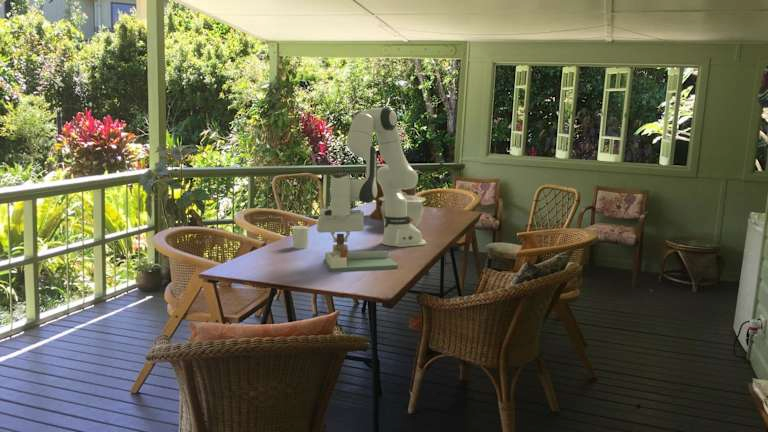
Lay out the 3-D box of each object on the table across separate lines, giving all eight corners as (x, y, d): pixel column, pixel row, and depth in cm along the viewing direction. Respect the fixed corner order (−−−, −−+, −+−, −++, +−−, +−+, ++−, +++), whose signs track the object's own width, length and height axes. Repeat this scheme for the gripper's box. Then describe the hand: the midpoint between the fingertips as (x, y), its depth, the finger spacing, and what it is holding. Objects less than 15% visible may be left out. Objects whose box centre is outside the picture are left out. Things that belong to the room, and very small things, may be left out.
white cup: (297, 249, 300) (297, 229, 298) (289, 246, 306) (289, 226, 304) (311, 247, 305) (311, 227, 303) (303, 245, 311) (303, 225, 309)
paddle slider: (346, 257, 277) (346, 233, 275) (352, 264, 265) (352, 238, 263) (332, 257, 275) (332, 233, 274) (338, 264, 263) (338, 239, 261)
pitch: (387, 259, 283) (387, 247, 282) (397, 268, 266) (397, 255, 265) (323, 262, 275) (323, 250, 274) (330, 271, 259) (330, 258, 258)
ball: (336, 265, 268) (342, 258, 268) (337, 267, 264) (344, 260, 264) (329, 259, 266) (336, 252, 267) (331, 261, 263) (337, 254, 263)
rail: (387, 257, 281) (387, 250, 280) (388, 257, 279) (388, 251, 279) (325, 259, 274) (325, 253, 273) (325, 260, 272) (325, 253, 272)
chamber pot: (426, 231, 349) (427, 195, 346) (377, 231, 350) (377, 194, 346) (424, 223, 377) (425, 189, 374) (378, 222, 377) (379, 188, 374)
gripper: (362, 208, 277) (362, 239, 279) (316, 209, 271) (316, 241, 274) (365, 210, 270) (365, 242, 273) (318, 212, 265) (318, 244, 268)
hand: (340, 241), depth 273 cm, fingers closed on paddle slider, 3 cm apart
